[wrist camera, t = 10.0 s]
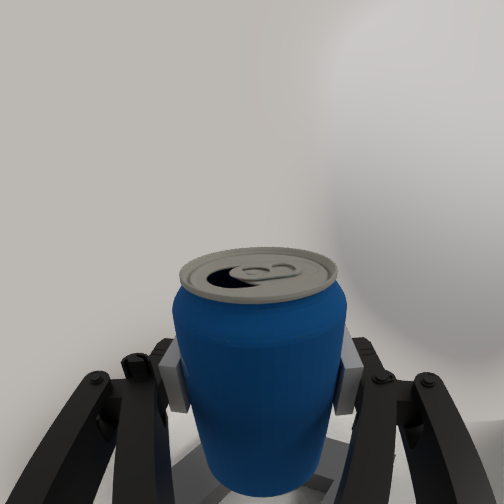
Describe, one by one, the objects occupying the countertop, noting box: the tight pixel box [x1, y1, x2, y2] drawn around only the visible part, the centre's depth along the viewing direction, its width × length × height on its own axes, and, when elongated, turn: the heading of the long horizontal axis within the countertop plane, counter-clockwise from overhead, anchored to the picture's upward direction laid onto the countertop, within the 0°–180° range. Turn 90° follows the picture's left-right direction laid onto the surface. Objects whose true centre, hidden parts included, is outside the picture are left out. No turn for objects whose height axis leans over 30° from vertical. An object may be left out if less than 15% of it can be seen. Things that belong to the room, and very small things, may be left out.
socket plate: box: [171, 437, 396, 504], centre depth 15 cm, size 16×16×3 cm
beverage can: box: [172, 247, 347, 497], centre depth 12 cm, size 6×6×12 cm
